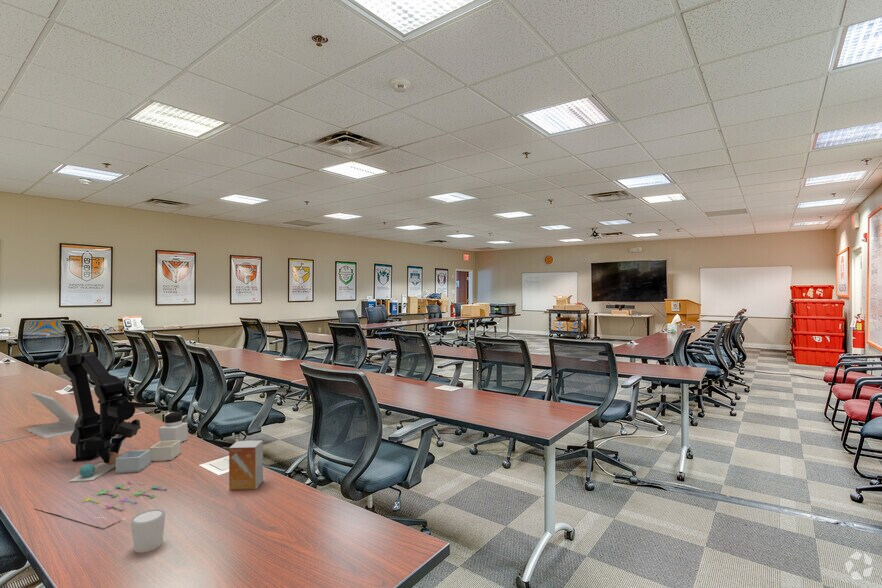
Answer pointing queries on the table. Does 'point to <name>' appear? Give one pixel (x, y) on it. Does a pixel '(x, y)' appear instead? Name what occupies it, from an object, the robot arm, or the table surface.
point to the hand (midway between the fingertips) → (111, 460)
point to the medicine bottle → (173, 428)
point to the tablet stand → (65, 418)
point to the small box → (245, 465)
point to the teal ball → (87, 470)
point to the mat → (99, 471)
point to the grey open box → (133, 461)
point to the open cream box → (165, 450)
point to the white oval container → (148, 530)
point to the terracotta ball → (112, 457)
